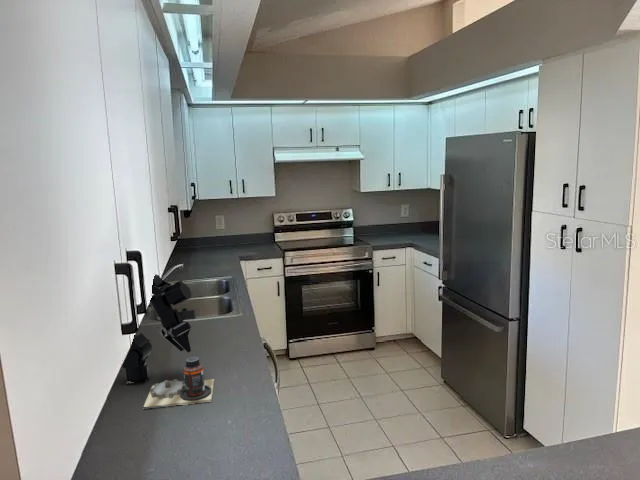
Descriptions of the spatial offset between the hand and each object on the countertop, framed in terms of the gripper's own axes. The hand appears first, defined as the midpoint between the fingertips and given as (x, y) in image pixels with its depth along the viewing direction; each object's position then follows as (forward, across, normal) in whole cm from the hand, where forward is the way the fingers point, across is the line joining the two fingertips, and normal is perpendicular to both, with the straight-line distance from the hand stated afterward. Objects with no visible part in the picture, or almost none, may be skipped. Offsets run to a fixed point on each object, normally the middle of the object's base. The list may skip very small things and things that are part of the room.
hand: (185, 351), depth 162 cm
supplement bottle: (+12, -10, +5) cm, 16 cm away
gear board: (+10, -6, +9) cm, 15 cm away
